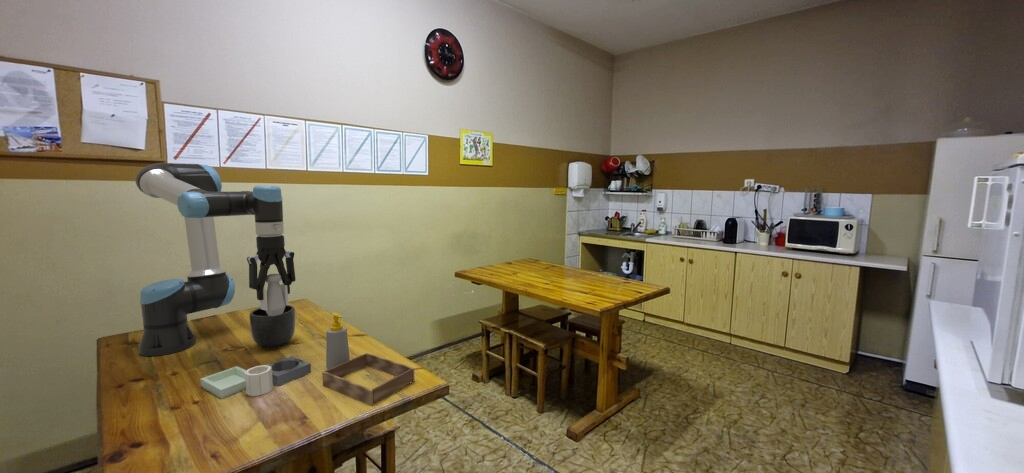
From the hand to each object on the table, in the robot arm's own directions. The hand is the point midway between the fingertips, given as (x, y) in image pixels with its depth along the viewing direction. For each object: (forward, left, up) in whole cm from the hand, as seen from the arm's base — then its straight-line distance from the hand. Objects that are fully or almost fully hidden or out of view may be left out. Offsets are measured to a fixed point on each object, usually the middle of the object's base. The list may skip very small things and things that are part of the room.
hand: (274, 306), depth 128 cm
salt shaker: (0, 0, -3) cm, 3 cm away
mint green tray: (+4, -16, -18) cm, 25 cm away
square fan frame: (+11, -4, -18) cm, 22 cm away
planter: (-15, +7, -19) cm, 25 cm away
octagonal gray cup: (+14, -13, -18) cm, 27 cm away
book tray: (+37, +6, -18) cm, 42 cm away
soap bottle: (+21, +7, -19) cm, 29 cm away
